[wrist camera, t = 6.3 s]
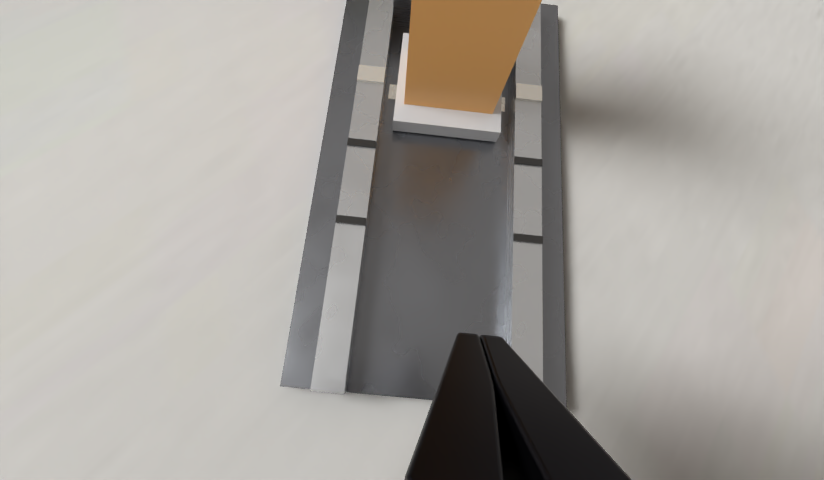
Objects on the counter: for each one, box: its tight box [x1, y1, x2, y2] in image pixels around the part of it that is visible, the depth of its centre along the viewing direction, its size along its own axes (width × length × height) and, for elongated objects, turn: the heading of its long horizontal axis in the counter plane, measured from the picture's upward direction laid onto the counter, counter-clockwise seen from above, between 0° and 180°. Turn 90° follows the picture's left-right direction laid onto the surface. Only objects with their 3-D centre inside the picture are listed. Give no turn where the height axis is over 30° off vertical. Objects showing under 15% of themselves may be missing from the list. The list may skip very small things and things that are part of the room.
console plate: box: [280, 0, 566, 407], centre depth 18 cm, size 20×11×3 cm, turn 175°
